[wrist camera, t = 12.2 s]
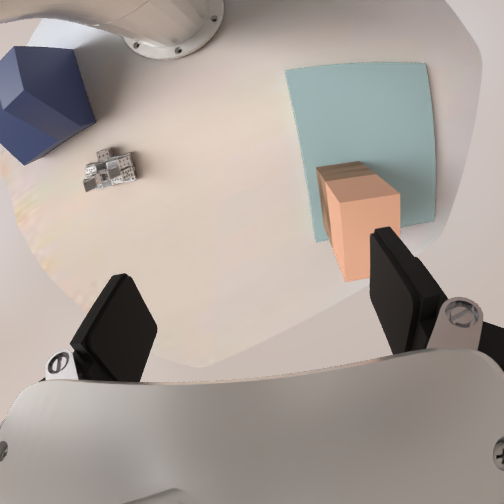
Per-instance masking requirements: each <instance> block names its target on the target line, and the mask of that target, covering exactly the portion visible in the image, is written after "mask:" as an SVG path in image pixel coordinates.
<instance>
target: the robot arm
mask: <svg viewBox="0 0 504 504" xmlns="http://www.w3.org/2000/svg"><path fill="white" fill-rule="evenodd" d="M223 15H224V2H223V0H0V24H2V23H7V22H12V21H17V20H23V19H32V18H49V19H58V20H64V21H70V22H74V23H78V24H82V25H86V26H90V27H94V28H97V29H101V30H104V31H108V32H111V33H114V34H117V35H121V36H123V39H124V41H125V42H126V44H127V45H128V47H130V48H131V49H132V50H133V51H134V52H135V53H137V54H139V55H140V56H143V57H146V58H149V59H154V60H171V59H177V58H180V57H184V56H186V55H188V54H191V53H193V52H195V51H196V50H198V49H199V48H201V47H202V46H204V45H205V44H206V43H207V42H208V41H209V40H210V39H211V38H212V37H213V35H214V34H215V33H216V32H217V30H218V28H219V26H220V24H221V22H222V18H223ZM213 19H217V21H216V22H213ZM139 44H140V45H139ZM138 45H139V47H137V46H138ZM179 50H182V52H181V53H179V52H178V51H179ZM370 298H371V301H372V304H373V306H374V308H375V311H376V313H377V316H378V318H379V320H380V323H381V325H382V328H383V330H384V333H385V335H386V338H387V340H388V343H389V345H390V348H391V350H392V353H393V355H390V356H385V357H380V358H376V359H371V360H366V361H362V362H356V363H351V364H346V365H340V366H335V367H329V368H323V369H317V370H311V371H304V372H297V373H290V374H282V375H275V376H266V377H255V378H245V379H233V380H219V381H201V382H146V383H145V382H140V379H141V376H142V373H143V371H144V368H145V365H146V362H147V359H148V356H149V353H150V350H151V348H152V345H153V342H154V339H155V337H156V334H157V325H156V323H155V321H154V319H153V317H152V315H151V314H150V312H149V310H148V308H147V306H146V304H145V302H144V300H143V299H142V297H141V295H140V293H139V291H138V289H137V287H136V285H135V283H134V281H133V279H132V278H131V277H130V276H128V275H127V274H125V273H124V274H119V275H113V276H112V277H111V279H110V280H109V282H108V283H107V285H106V286H105V288H104V289H103V291H102V292H101V294H100V295H99V297H98V298H97V300H96V301H95V303H94V304H93V306H92V308H91V309H90V311H89V312H88V314H87V316H86V318H85V319H84V320H83V322H82V324H81V325H80V327H79V329H78V330H77V332H76V334H75V336H74V337H73V339H72V341H71V342H70V345H71V346H72V347H73V349H74V350H75V351H74V352H73V353H72V352H71V351H70V350H67V349H63V350H60V351H58V352H56V353H55V354H53V355H52V356H51V358H50V359H49V360H48V362H47V363H46V366H45V378H43V379H42V380H41V381H39V382H38V383H34V384H32V385H30V386H28V387H26V388H24V389H23V390H22V391H21V392H20V394H19V395H18V397H17V398H16V400H15V401H14V403H13V405H12V407H11V409H10V410H9V412H8V414H7V416H6V418H5V419H4V421H3V422H2V423H1V424H0V504H504V328H501V327H498V326H495V325H493V324H490V323H487V322H484V321H483V312H482V310H481V308H480V307H479V306H478V304H476V303H475V302H474V301H472V300H470V299H467V298H462V297H455V298H451V299H448V298H447V296H446V295H445V294H444V292H443V291H442V290H441V288H440V287H439V285H438V284H437V282H436V281H435V280H434V278H433V277H432V276H431V274H430V273H429V271H428V270H427V269H426V267H425V266H424V265H423V263H422V262H421V261H420V260H419V259H418V258H417V257H414V256H413V255H412V253H411V252H410V251H409V249H408V248H407V247H406V246H405V244H404V243H403V242H402V241H401V239H400V238H399V237H398V236H397V234H396V233H395V232H394V231H393V230H392V228H391V227H390V226H388V227H383V228H377V229H375V230H374V233H371V234H370Z"/></svg>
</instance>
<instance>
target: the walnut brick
mask: <svg viewBox="0 0 504 504" xmlns="http://www.w3.org/2000/svg"><path fill="white" fill-rule="evenodd" d="M316 174H317V180H318V187H319V194H320V201H321V209H322V216H323V224H324V229H325V231H326V233H327V236H328V238H329V241H330V243H331V245H332V235H331V225H330V216H329V208H328V200H327V192H326V184H325V182H326V181H332V180H339V179H346V178H352V177H359V176H366V175H374V174H376V173H374V172H373V171H372V170H370V169H369V168H368V167H366V166H365V165H364V164H363V163H361V162H360V161H355V162H348V163H341V164H334V165H327V166H321V167H316ZM376 175H377V174H376ZM332 248H333V245H332Z"/></svg>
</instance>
